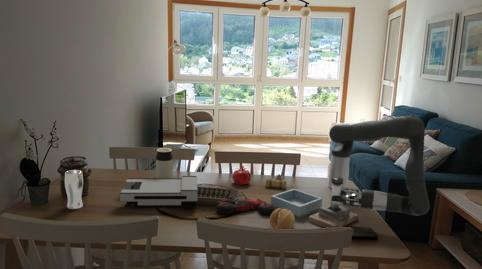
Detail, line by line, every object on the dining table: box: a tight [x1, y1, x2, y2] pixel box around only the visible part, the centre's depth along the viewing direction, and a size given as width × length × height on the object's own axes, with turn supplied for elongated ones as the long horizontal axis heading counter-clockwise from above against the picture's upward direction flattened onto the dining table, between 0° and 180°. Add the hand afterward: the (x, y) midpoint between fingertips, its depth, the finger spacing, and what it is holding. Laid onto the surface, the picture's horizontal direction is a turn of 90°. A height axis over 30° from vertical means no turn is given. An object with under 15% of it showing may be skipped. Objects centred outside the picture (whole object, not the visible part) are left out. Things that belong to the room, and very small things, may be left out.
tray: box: [270, 188, 323, 219], centre depth 172 cm, size 16×16×5 cm
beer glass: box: [64, 169, 84, 210], centre depth 161 cm, size 7×7×15 cm
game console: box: [119, 175, 198, 209], centre depth 174 cm, size 21×32×8 cm, turn 97°
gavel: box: [265, 174, 287, 190], centre depth 206 cm, size 21×5×10 cm
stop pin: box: [329, 177, 344, 212], centre depth 159 cm, size 5×5×16 cm
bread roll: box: [269, 208, 296, 230], centre depth 149 cm, size 10×15×8 cm, turn 168°
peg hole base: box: [308, 202, 359, 229], centre depth 161 cm, size 18×12×5 cm, turn 134°
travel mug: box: [155, 147, 173, 178], centre depth 193 cm, size 8×8×18 cm
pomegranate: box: [231, 165, 252, 186], centre depth 201 cm, size 10×10×9 cm
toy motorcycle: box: [215, 198, 275, 216], centre depth 169 cm, size 25×5×16 cm
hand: (332, 194), depth 159 cm, fingers open, 8 cm apart
